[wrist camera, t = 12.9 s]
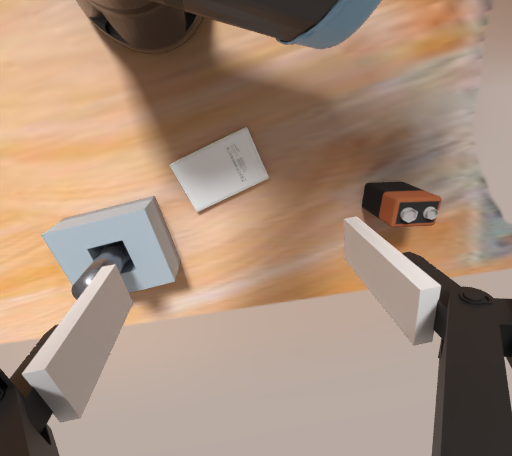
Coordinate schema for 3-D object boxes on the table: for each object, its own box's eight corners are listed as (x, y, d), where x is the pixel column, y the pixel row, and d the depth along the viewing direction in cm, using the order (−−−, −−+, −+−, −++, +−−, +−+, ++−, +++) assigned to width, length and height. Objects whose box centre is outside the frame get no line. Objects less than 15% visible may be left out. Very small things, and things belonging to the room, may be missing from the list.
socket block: (64, 218, 41) (40, 234, 36) (154, 196, 41) (144, 209, 36) (100, 281, 46) (84, 304, 41) (180, 261, 46) (175, 281, 41)
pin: (106, 238, 42) (65, 283, 31) (129, 232, 42) (96, 275, 31) (116, 257, 43) (81, 307, 32) (138, 252, 43) (110, 300, 32)
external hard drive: (170, 162, 40) (246, 126, 39) (197, 209, 43) (268, 176, 43) (168, 164, 39) (247, 126, 38) (197, 213, 42) (269, 178, 41)
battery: (364, 182, 44) (401, 200, 35) (403, 181, 45) (449, 199, 36) (360, 207, 46) (394, 231, 37) (397, 205, 47) (440, 228, 38)
